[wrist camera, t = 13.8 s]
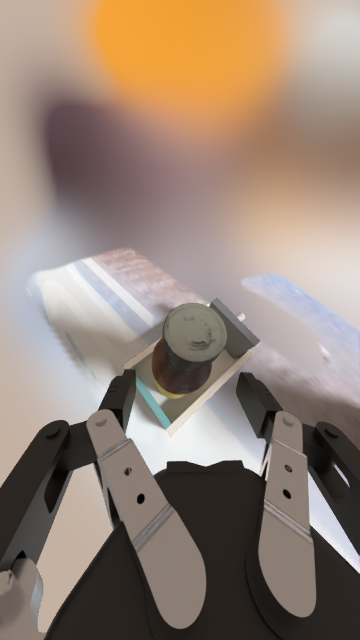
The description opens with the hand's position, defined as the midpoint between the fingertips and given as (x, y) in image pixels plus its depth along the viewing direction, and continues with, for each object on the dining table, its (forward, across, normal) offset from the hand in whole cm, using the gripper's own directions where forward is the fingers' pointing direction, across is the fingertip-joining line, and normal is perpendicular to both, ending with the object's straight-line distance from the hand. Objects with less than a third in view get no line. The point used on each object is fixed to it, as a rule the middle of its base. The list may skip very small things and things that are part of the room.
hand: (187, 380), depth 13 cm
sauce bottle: (+13, 0, +10) cm, 16 cm away
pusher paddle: (+18, -9, +4) cm, 20 cm away
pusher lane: (+15, -3, +9) cm, 18 cm away
